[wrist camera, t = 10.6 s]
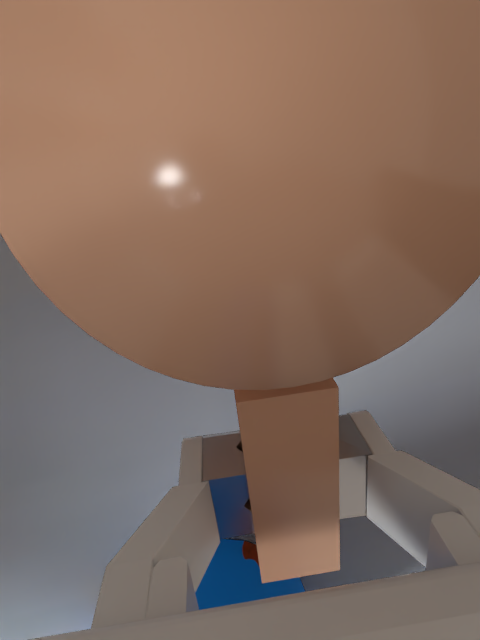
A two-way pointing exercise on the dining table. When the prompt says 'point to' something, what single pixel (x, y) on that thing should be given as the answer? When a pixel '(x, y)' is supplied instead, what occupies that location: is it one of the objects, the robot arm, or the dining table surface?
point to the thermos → (239, 577)
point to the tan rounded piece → (248, 205)
